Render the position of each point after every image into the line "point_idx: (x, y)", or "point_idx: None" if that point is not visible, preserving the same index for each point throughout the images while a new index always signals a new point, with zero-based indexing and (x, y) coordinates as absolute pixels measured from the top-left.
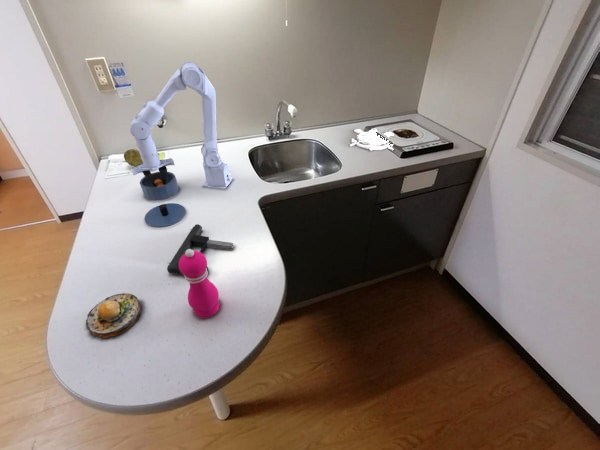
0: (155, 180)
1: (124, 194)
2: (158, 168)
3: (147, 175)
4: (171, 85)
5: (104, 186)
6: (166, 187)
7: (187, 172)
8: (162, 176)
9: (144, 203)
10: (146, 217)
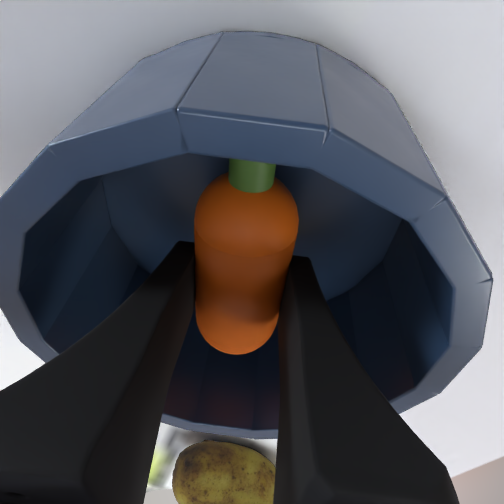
0: (251, 349)
1: (478, 351)
2: (136, 499)
3: (420, 494)
4: None
5: (480, 446)
6: (176, 89)
7: (10, 330)
8: (141, 345)
9: (490, 143)
10: None
